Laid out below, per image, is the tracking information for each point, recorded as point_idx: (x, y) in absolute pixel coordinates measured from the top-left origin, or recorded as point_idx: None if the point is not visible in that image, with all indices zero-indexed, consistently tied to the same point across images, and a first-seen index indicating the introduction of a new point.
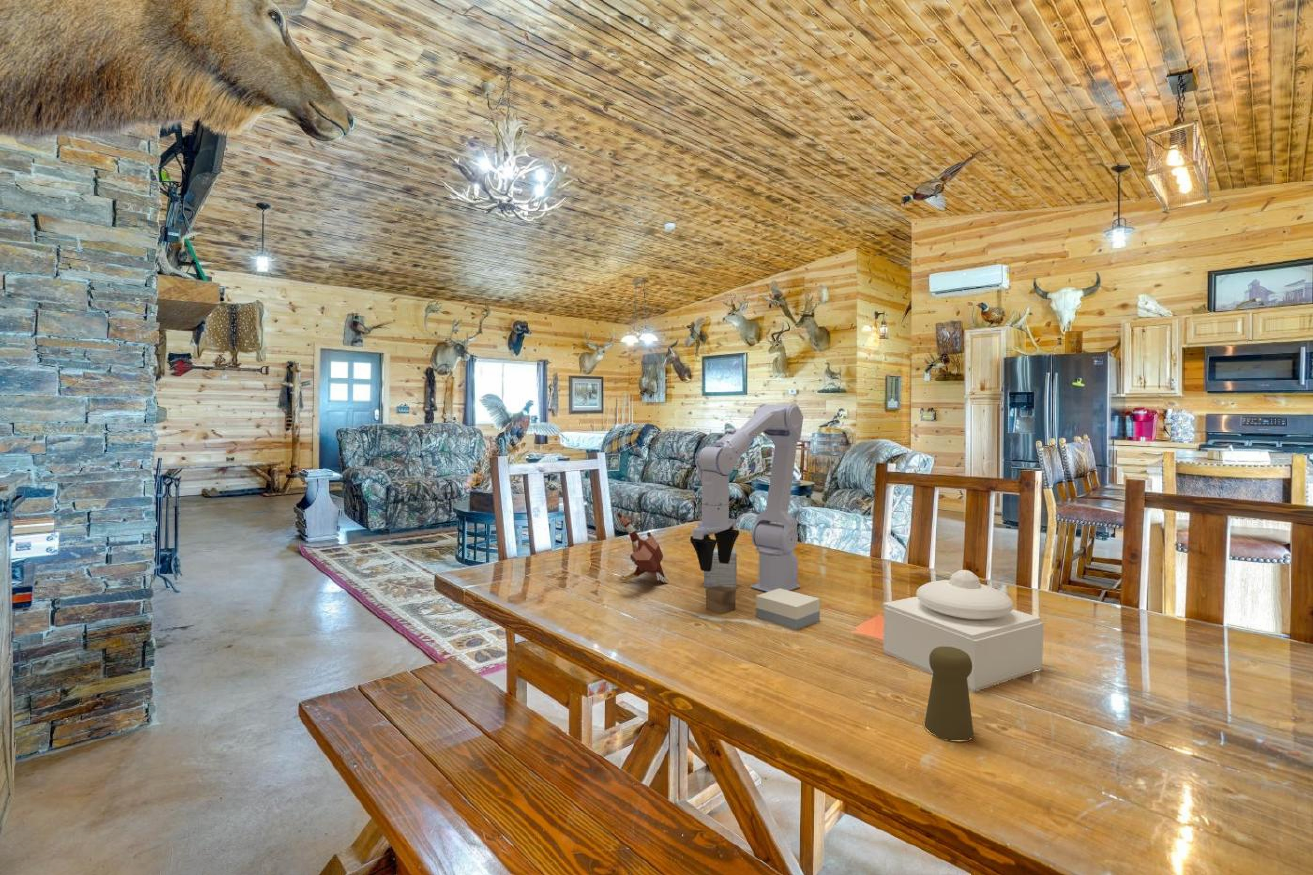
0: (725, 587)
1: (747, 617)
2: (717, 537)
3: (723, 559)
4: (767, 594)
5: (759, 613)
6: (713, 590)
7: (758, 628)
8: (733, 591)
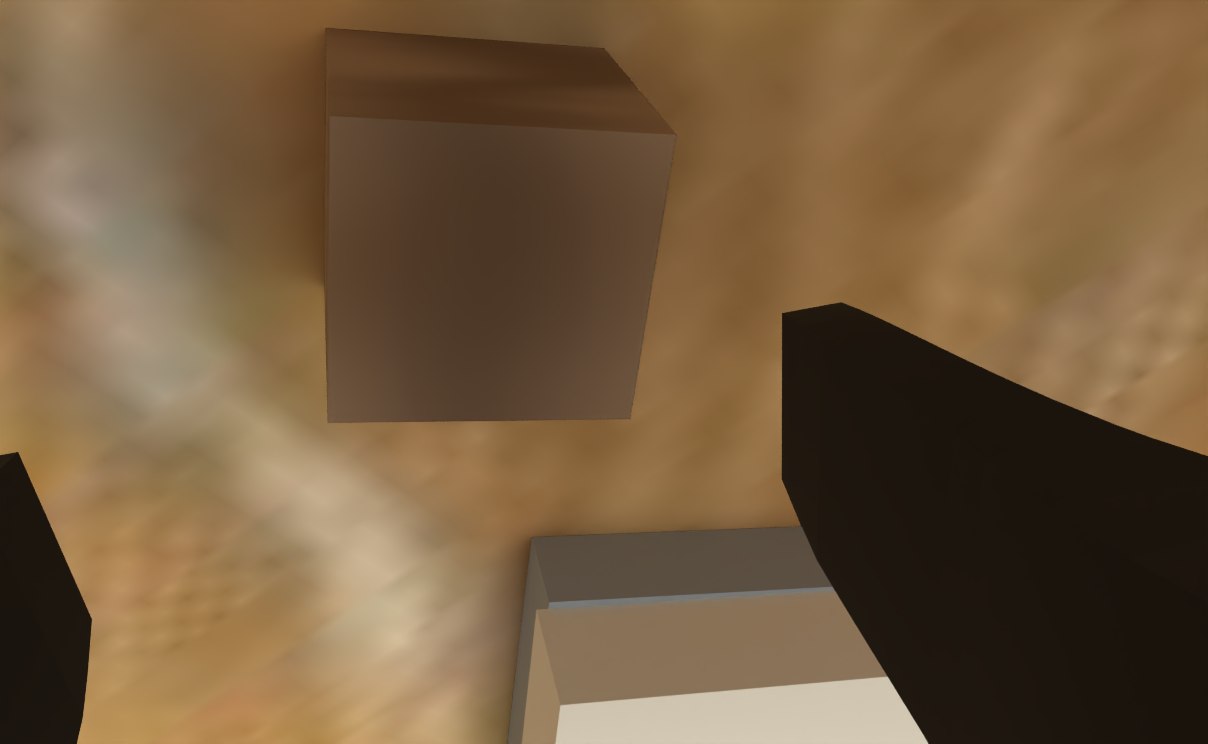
0: (621, 270)
1: (460, 503)
2: (1172, 677)
3: (810, 450)
4: (682, 735)
5: (535, 601)
6: (359, 254)
7: (292, 712)
8: (580, 410)
